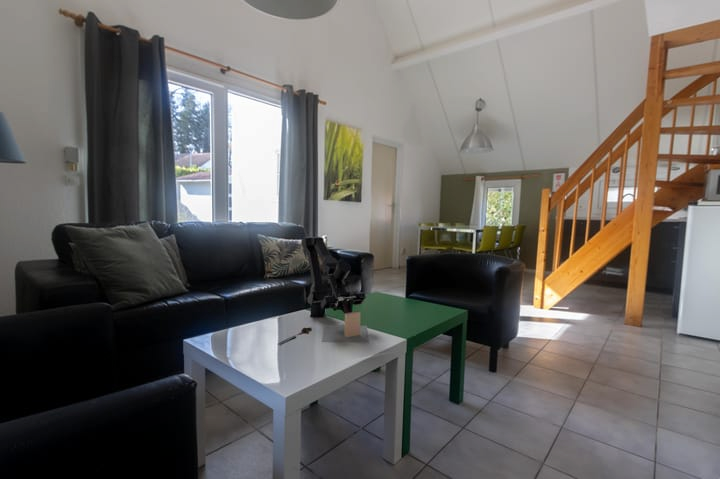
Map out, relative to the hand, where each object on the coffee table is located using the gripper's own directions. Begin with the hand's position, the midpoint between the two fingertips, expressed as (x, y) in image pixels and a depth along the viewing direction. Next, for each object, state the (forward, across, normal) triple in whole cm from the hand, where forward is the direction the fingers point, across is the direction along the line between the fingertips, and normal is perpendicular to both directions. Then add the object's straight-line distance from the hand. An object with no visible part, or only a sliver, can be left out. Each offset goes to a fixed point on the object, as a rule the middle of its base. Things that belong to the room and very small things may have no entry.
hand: (350, 318), depth 140 cm
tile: (+6, 0, -4) cm, 7 cm away
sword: (0, +21, -11) cm, 24 cm away
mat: (+3, +1, -7) cm, 8 cm away
